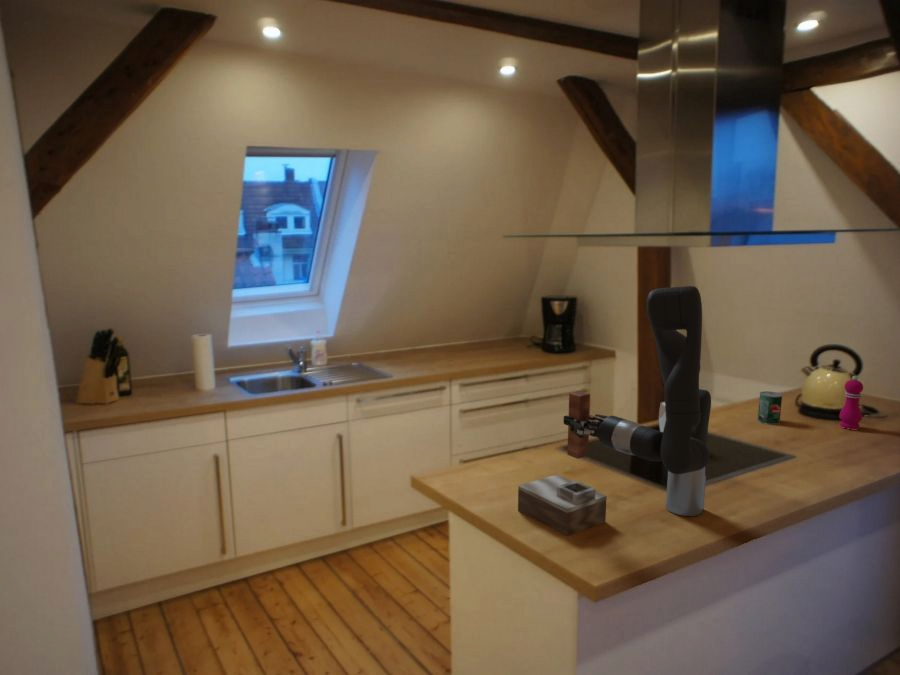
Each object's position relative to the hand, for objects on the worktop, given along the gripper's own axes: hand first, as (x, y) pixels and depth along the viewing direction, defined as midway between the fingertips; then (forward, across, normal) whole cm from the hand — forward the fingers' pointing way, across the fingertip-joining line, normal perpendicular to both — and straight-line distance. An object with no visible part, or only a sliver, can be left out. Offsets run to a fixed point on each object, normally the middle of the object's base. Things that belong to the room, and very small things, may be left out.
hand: (570, 418), depth 170 cm
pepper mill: (-5, -144, +29) cm, 147 cm away
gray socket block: (+2, 0, +27) cm, 27 cm away
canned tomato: (+17, -127, +29) cm, 131 cm away
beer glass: (+21, -70, +28) cm, 78 cm away
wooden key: (-3, 0, +9) cm, 9 cm away
